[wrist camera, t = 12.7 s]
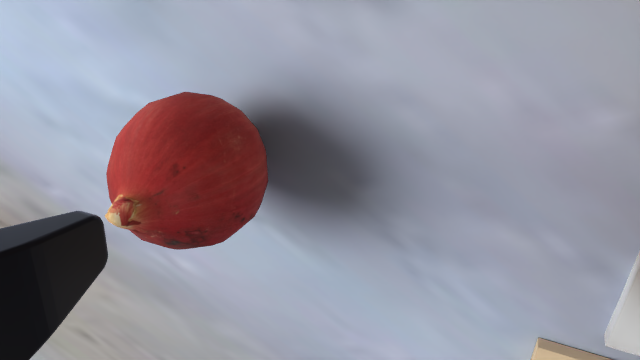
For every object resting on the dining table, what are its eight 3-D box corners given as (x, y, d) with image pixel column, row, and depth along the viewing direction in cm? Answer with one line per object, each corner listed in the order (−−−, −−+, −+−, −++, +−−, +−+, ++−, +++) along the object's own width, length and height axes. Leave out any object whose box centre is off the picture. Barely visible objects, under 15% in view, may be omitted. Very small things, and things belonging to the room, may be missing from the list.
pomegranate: (318, 184, 23) (222, 295, 16) (214, 204, 26) (96, 306, 19) (269, 55, 21) (139, 119, 15) (163, 91, 24) (13, 159, 17)
